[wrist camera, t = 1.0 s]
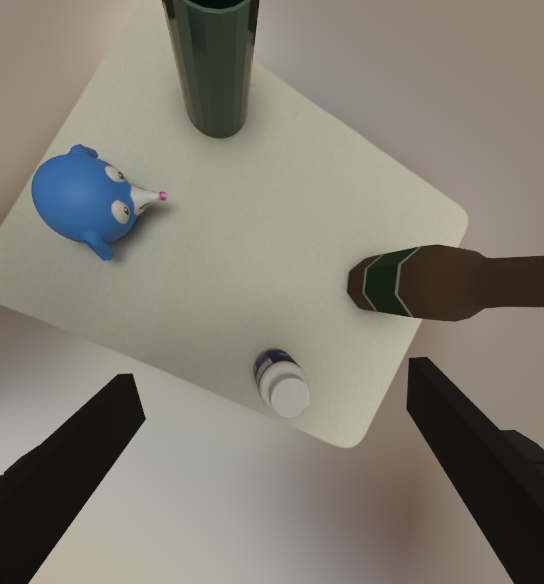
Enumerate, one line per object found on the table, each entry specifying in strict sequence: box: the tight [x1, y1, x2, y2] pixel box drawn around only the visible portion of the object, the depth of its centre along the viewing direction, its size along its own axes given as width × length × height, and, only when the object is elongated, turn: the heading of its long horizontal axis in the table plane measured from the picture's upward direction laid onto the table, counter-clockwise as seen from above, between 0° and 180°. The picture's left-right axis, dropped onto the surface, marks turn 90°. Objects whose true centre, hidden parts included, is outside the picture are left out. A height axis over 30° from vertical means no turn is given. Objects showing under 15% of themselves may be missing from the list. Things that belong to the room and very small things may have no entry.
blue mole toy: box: [32, 144, 167, 261], centre depth 26 cm, size 12×12×8 cm
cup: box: [162, 0, 259, 138], centre depth 25 cm, size 7×7×15 cm
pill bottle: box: [254, 349, 310, 418], centre depth 29 cm, size 5×5×10 cm
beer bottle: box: [348, 244, 544, 322], centre depth 24 cm, size 8×8×24 cm
